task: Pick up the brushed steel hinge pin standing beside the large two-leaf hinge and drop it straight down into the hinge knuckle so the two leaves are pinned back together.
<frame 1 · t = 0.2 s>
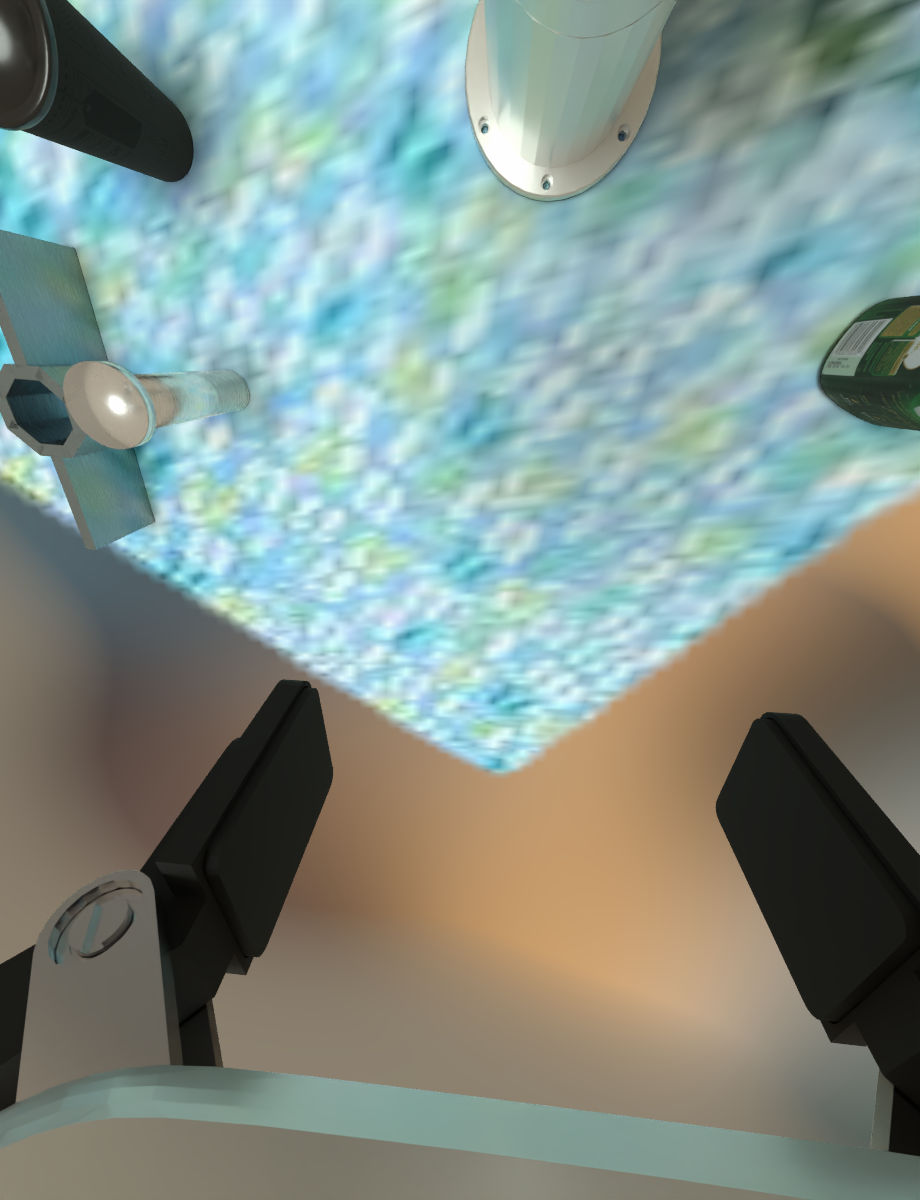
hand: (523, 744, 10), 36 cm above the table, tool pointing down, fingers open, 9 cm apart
hinge pin: (231, 390, 41), on the table
hinge: (115, 403, 42), on the table
coffee jar: (879, 363, 36), on the table
drinking cup: (163, 139, 33), on the table
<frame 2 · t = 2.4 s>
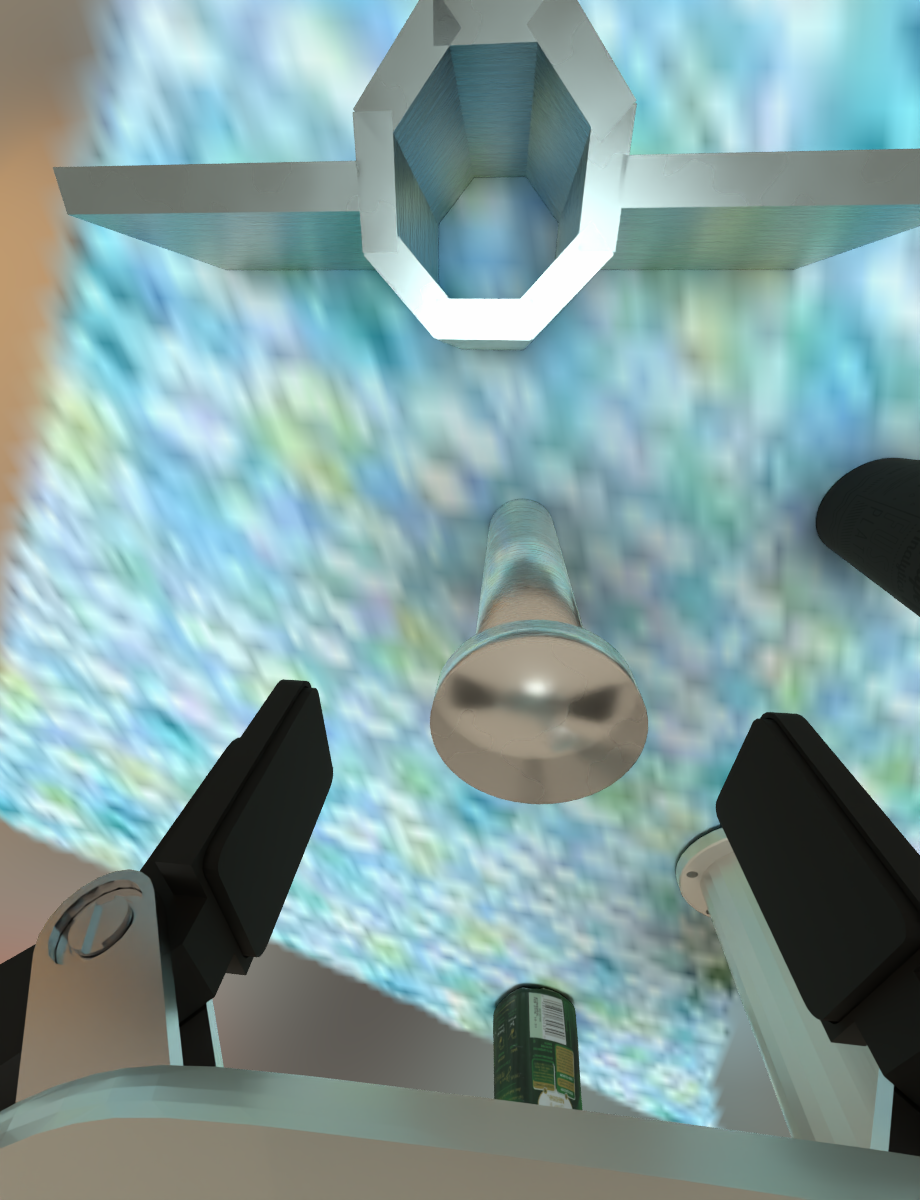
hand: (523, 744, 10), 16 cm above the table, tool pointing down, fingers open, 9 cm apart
hinge pin: (521, 530, 24), on the table
hinge: (496, 255, 18), on the table
coffee jar: (534, 1000, 50), on the table
drinking cup: (868, 507, 22), on the table
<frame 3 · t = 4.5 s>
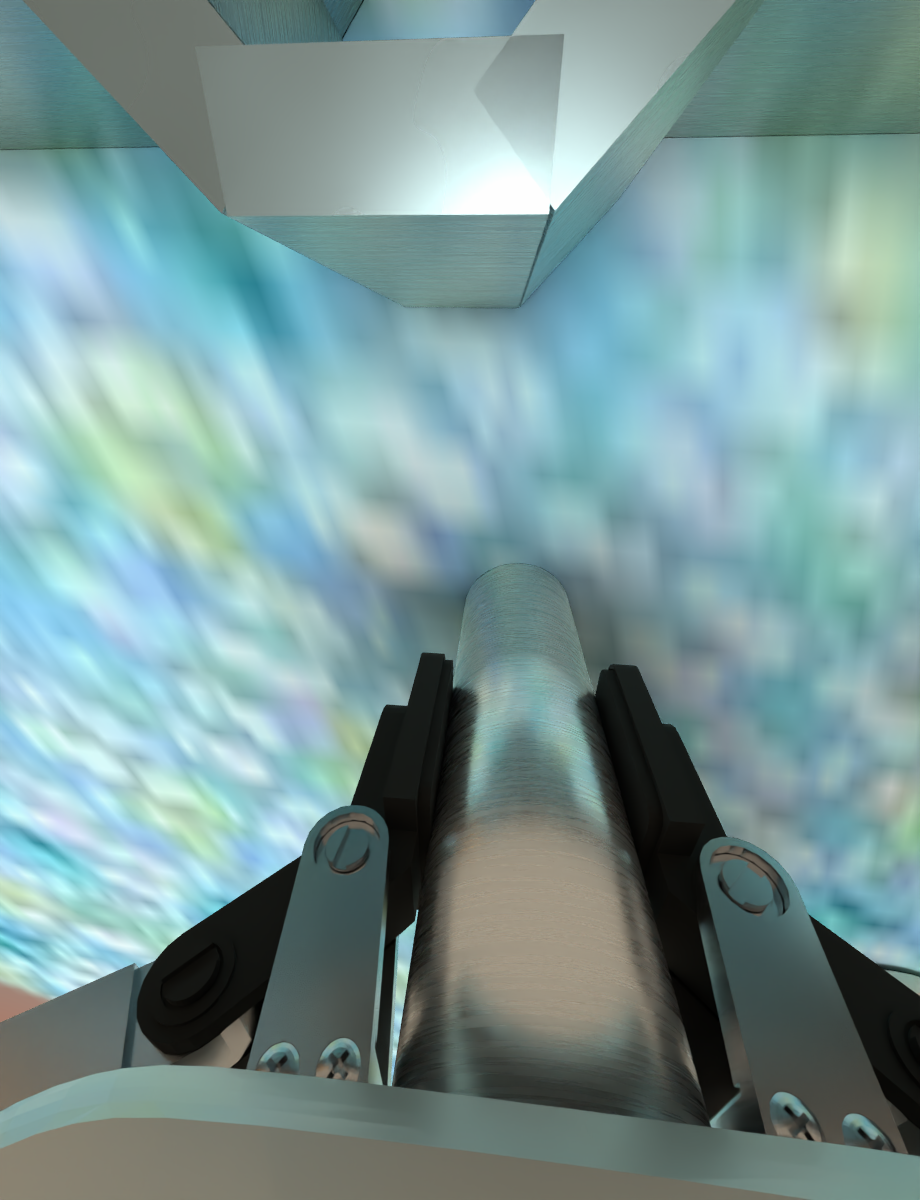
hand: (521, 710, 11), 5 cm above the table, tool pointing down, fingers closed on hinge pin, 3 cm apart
hinge pin: (516, 610, 15), on the table, touching gripper
hinge: (463, 107, 9), on the table
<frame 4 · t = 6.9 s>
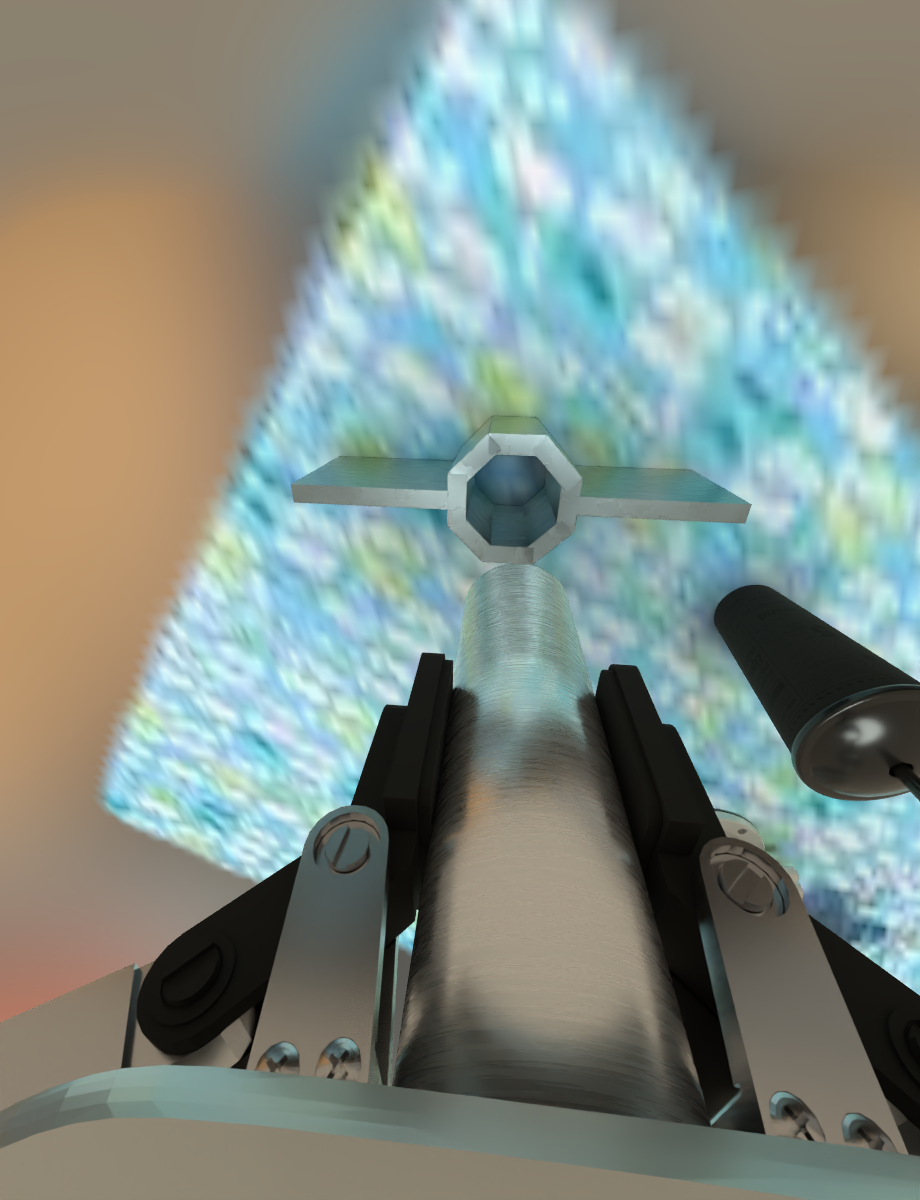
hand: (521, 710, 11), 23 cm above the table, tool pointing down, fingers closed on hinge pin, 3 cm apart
hinge pin: (516, 610, 15), point 18 cm above the table, touching gripper
hinge: (510, 470, 30), on the table
drinking cup: (746, 611, 34), on the table
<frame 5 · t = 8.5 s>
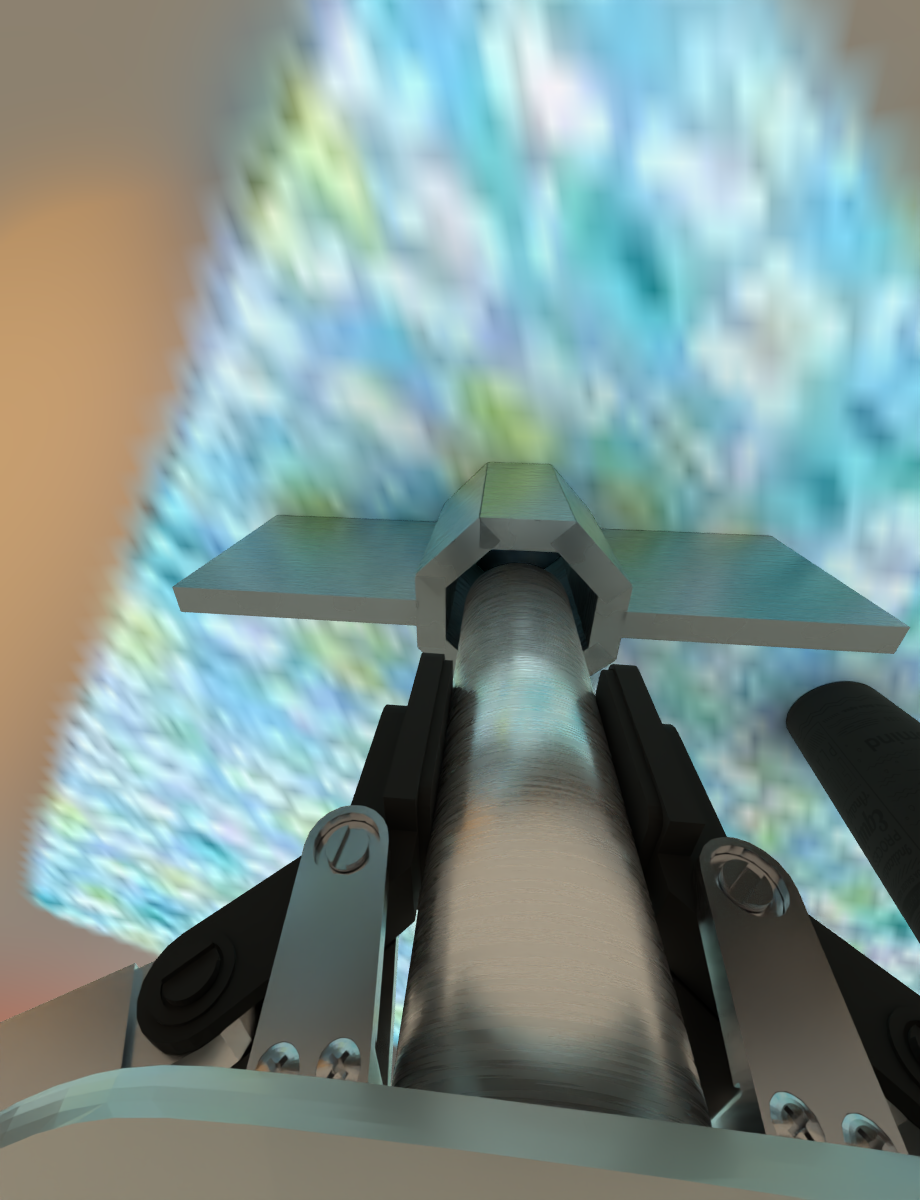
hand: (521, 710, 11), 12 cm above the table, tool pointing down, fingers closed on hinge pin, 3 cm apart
hinge pin: (516, 610, 15), point 8 cm above the table, touching gripper
hinge: (513, 534, 22), on the table
drinking cup: (830, 711, 25), on the table
when the fingers open (10 cm above the table, at t = 9.7 s): hinge pin drops 5 cm, resting in hinge.
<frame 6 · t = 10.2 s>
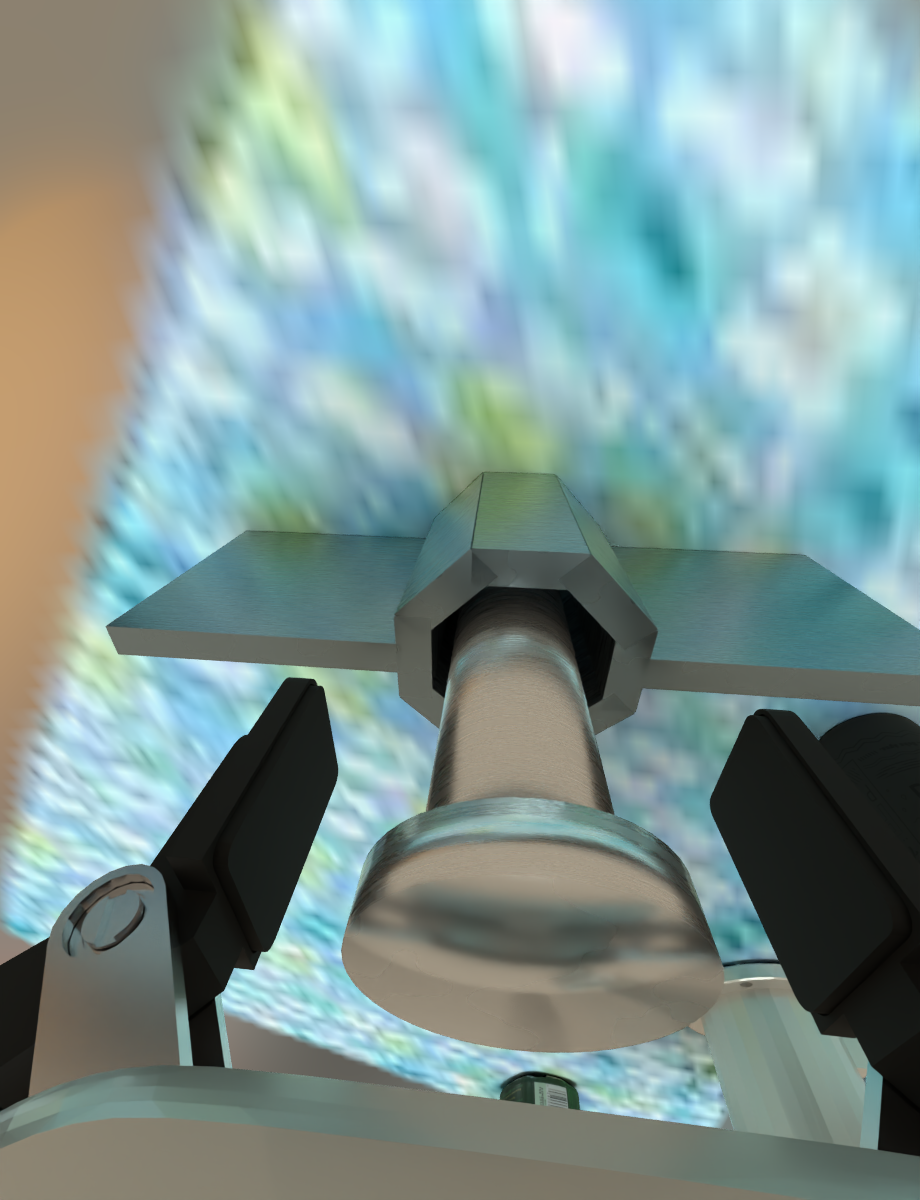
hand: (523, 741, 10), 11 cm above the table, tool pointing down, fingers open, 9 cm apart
hinge pin: (508, 555, 19), resting in hinge
hinge: (512, 553, 19), on the table
coffee jar: (538, 1083, 52), on the table
drinking cup: (862, 744, 23), on the table
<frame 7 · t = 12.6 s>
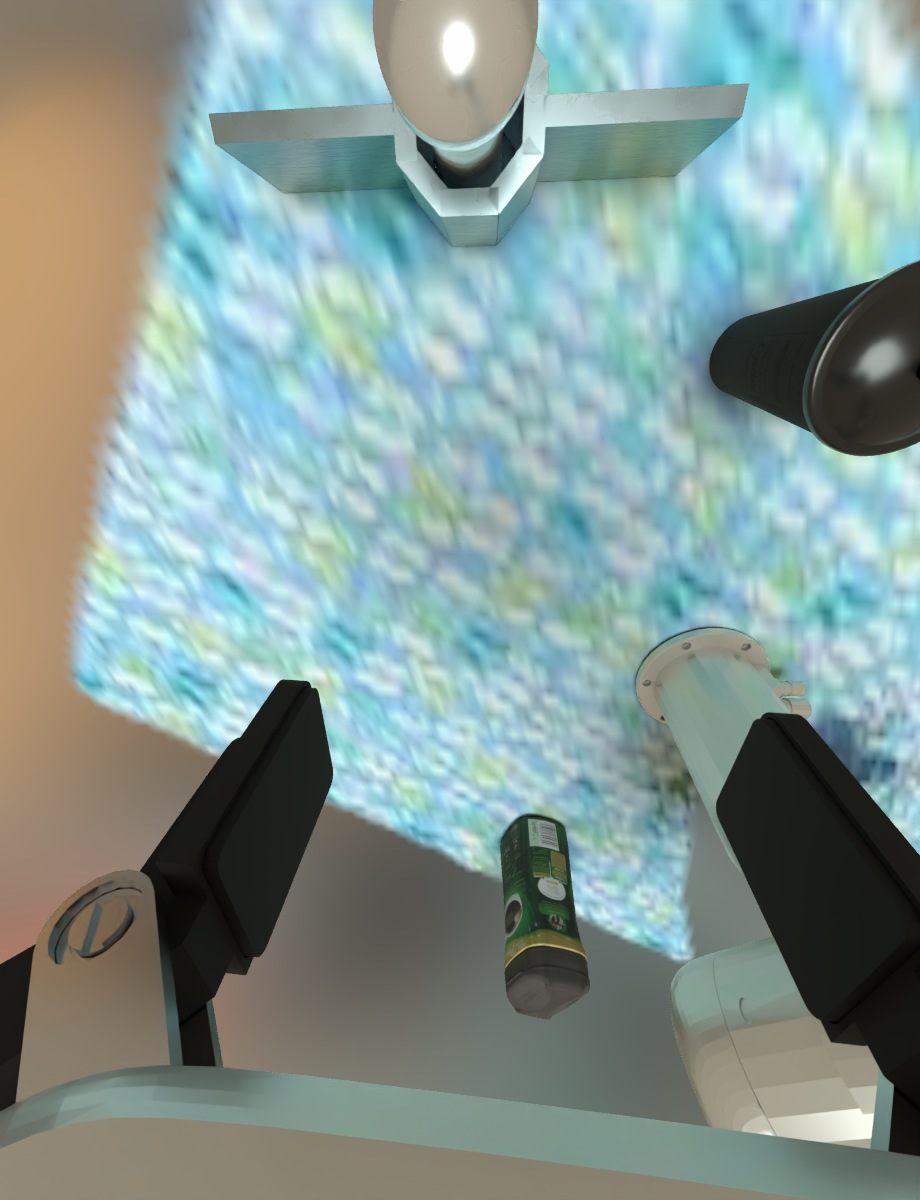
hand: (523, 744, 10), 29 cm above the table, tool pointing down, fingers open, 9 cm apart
hinge pin: (471, 176, 27), resting in hinge
hinge: (474, 173, 26), on the table
coffee jar: (532, 832, 61), on the table
drinking cup: (745, 355, 31), on the table
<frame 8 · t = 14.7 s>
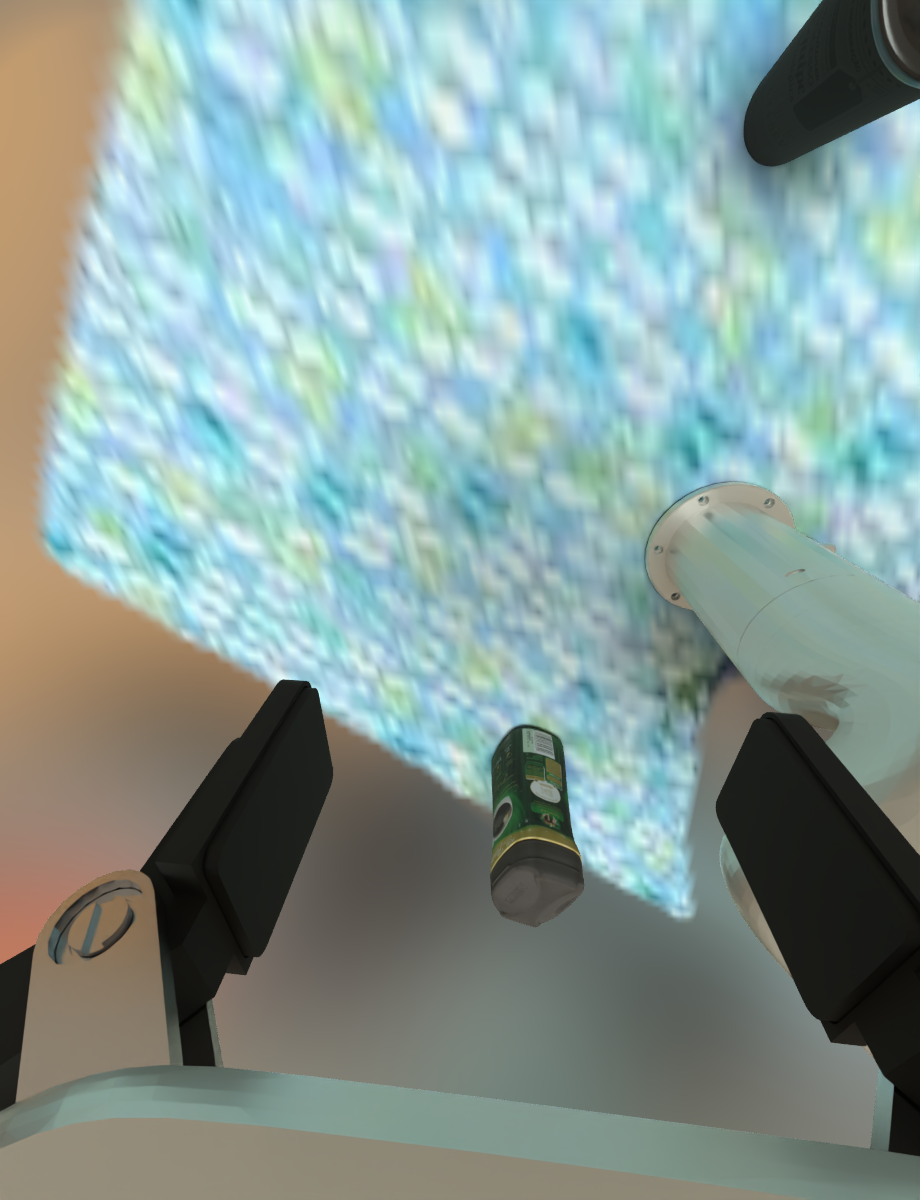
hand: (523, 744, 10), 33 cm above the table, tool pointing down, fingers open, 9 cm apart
coffee jar: (527, 749, 57), on the table
drinking cup: (784, 115, 27), on the table
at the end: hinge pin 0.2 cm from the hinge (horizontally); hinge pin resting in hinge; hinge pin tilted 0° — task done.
